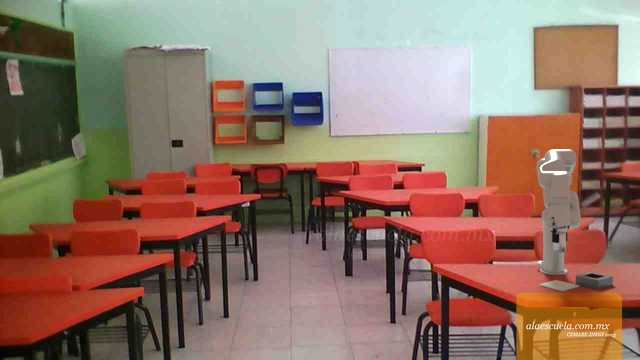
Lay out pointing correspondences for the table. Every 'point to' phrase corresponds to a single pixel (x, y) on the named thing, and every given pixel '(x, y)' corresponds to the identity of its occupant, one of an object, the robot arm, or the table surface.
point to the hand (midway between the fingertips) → (559, 241)
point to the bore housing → (594, 280)
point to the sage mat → (559, 285)
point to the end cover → (561, 240)
